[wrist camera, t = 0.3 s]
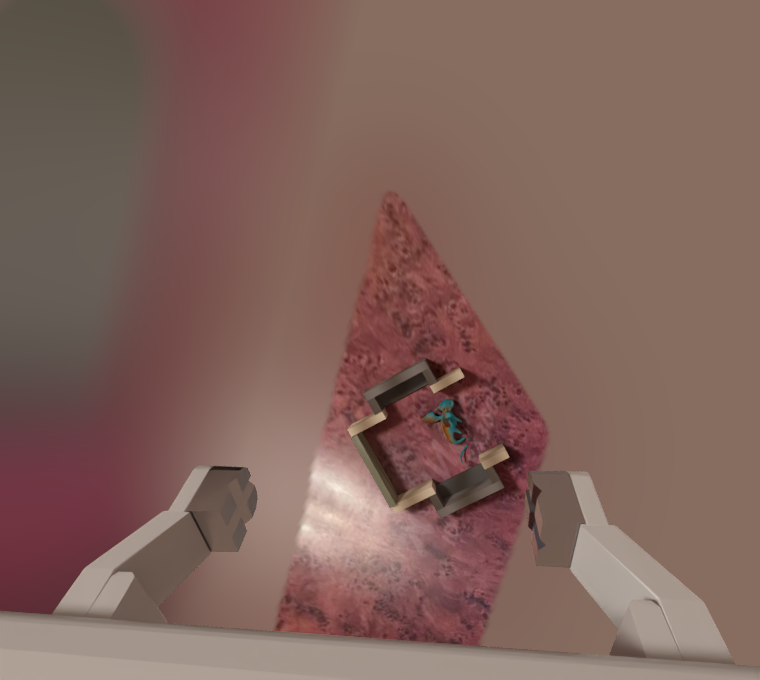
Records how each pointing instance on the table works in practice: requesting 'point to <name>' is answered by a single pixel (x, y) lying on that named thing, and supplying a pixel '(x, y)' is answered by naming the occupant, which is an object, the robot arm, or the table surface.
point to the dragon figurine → (446, 422)
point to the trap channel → (442, 495)
